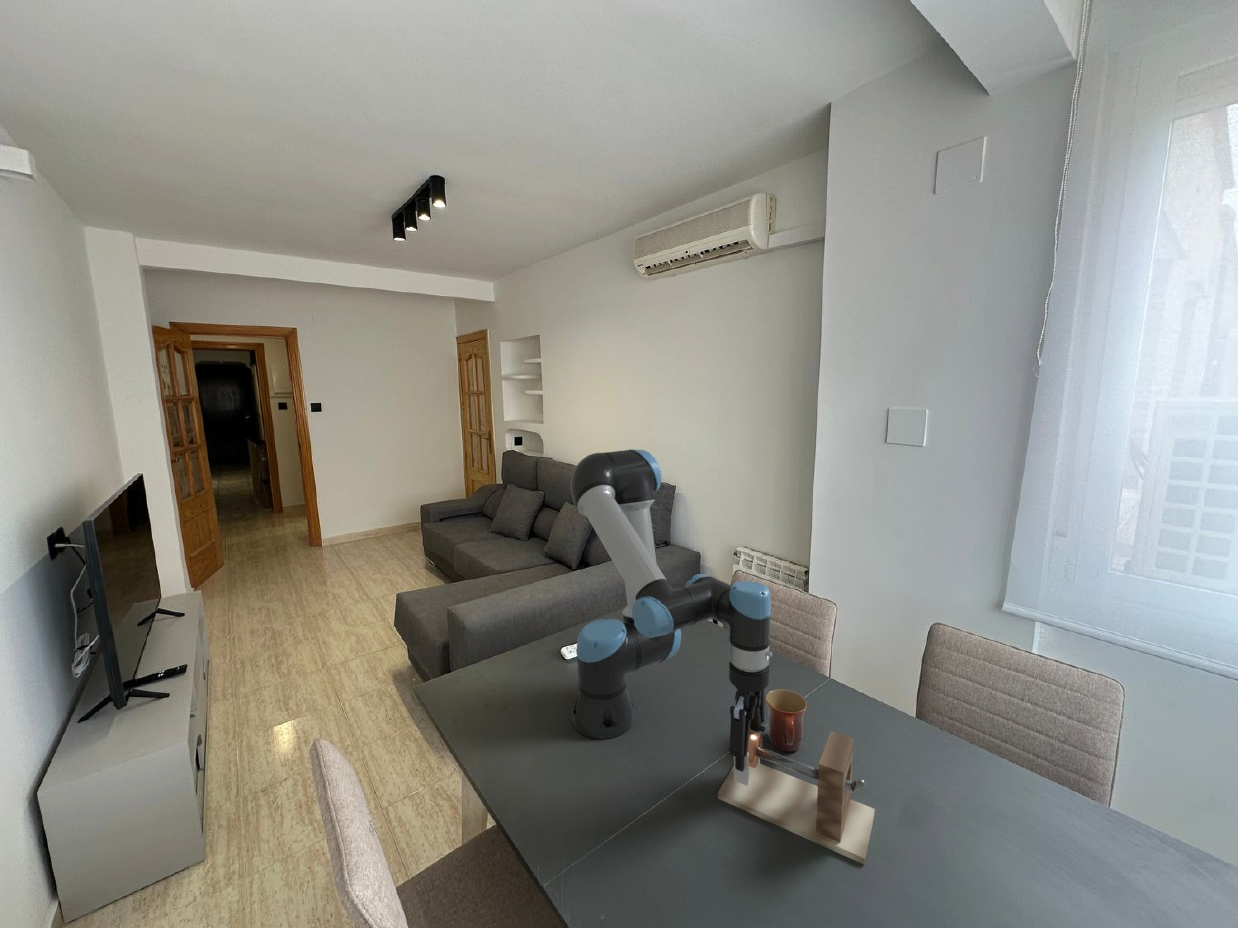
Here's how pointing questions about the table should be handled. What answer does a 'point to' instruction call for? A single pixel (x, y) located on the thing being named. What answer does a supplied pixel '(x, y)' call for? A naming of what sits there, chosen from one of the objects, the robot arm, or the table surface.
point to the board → (797, 809)
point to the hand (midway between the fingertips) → (747, 770)
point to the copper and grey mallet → (789, 762)
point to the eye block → (834, 786)
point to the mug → (785, 719)
